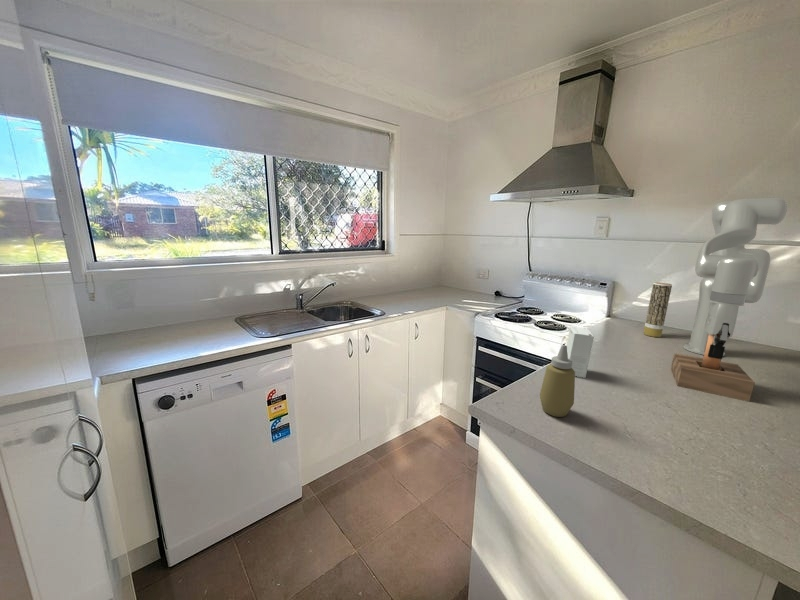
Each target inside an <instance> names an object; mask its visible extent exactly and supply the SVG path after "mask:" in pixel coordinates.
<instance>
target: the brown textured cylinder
mask: <svg viewBox="0 0 800 600" xmlns="http://www.w3.org/2000/svg"><path fill="white" fill-rule="evenodd" d="M672 286H673V284H672V283H667V282H653V284H652V288H651V293H650V299H649V303H648V304H649V305H648V308H647V314H646V319H645V323H644V328H643V329H644V330H643V334H644V335H645V336H648V337H652V338H661V337H662V334H663V329H664V327H665V325H664V324H665V321H666V315H667V311H668V306H669V302H670V296H671V292H672V288H673V287H672Z"/></svg>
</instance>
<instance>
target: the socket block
mask: <svg viewBox="0 0 800 600" xmlns="http://www.w3.org/2000/svg"><path fill="white" fill-rule="evenodd" d="M702 361H703V357H698V356H692V355H688V354H681V353H677V352H676V353H675V352H674V353H673V357H672V362H671V366H670V371H671V374H672V377H673V379H674V381H675V383H676V385H677V386H678V387H682V388H685V389H690V390H695V391H699V392H704V393H709V394H713V395H718V396H723V397H727V398H731V399H734V400H740V401H744V400H745V402H750V401H751V396H752V393H753V388H754V387H755V381H754V380H753V379H752V378H751V377H750V376H749V374H747V373H746V371H745V370H743V368H742V367H741V366H740V365H739V364H738V363H731V362H725V361H721V362H720V366H719V370H714V369H708V368H703V367H701V365H702Z"/></svg>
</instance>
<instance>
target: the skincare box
mask: <svg viewBox="0 0 800 600" xmlns="http://www.w3.org/2000/svg"><path fill="white" fill-rule="evenodd" d="M568 331H569V332H568V337H567V342H566V346H567V354H568V359H570V360H572V369H573V370H574V371H575V377H576V376H577V378H582V377H583V379H585V378H586V377H587V373H588V367H589V362H590V357H591V352H592V349H593V343H594V337H595V336H594V334H592V332H591V330H589V328H586V327H578V326H571V325H570V326H569V330H568Z"/></svg>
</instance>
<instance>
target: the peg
mask: <svg viewBox="0 0 800 600" xmlns="http://www.w3.org/2000/svg"><path fill="white" fill-rule="evenodd" d="M717 336H721V334H717ZM713 337H714V334H713V335H710V334H709V336H708V341H707V345H706V349H705V353H704V355H703V357H702V358H703V361H702V365H701V367H703V368H708V369H714V370H719V366H720V362H722V359H716V358H711V357H708V353H709V349H710V345H711V344H712V342H713ZM717 339H718V338H717ZM717 339H716V340H717ZM719 339H720V338H719Z"/></svg>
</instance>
